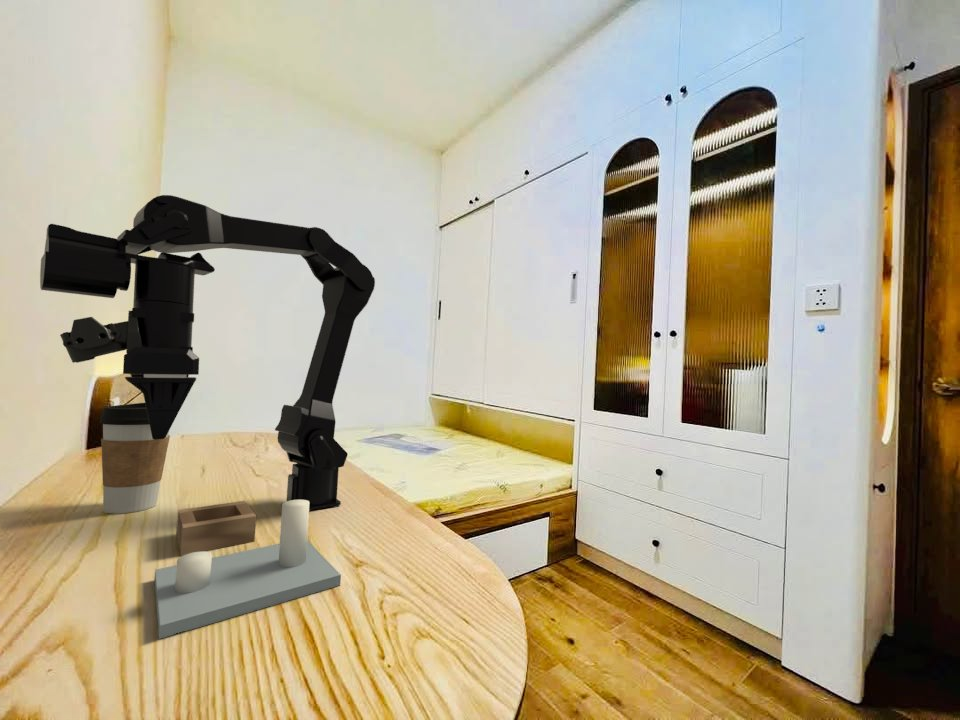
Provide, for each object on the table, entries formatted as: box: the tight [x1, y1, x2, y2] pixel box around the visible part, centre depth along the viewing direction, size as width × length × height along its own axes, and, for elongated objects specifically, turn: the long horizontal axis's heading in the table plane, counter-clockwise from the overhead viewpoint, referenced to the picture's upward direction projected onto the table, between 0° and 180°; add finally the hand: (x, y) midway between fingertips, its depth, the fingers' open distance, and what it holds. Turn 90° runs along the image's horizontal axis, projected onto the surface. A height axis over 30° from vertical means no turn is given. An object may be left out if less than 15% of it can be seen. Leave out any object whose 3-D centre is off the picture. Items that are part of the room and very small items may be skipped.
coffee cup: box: [99, 402, 171, 515], centre depth 59 cm, size 8×8×15 cm
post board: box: [154, 500, 342, 640], centre depth 40 cm, size 14×11×7 cm
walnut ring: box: [175, 500, 257, 557], centre depth 50 cm, size 7×7×3 cm
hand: (158, 433), depth 49 cm, fingers open, 9 cm apart
